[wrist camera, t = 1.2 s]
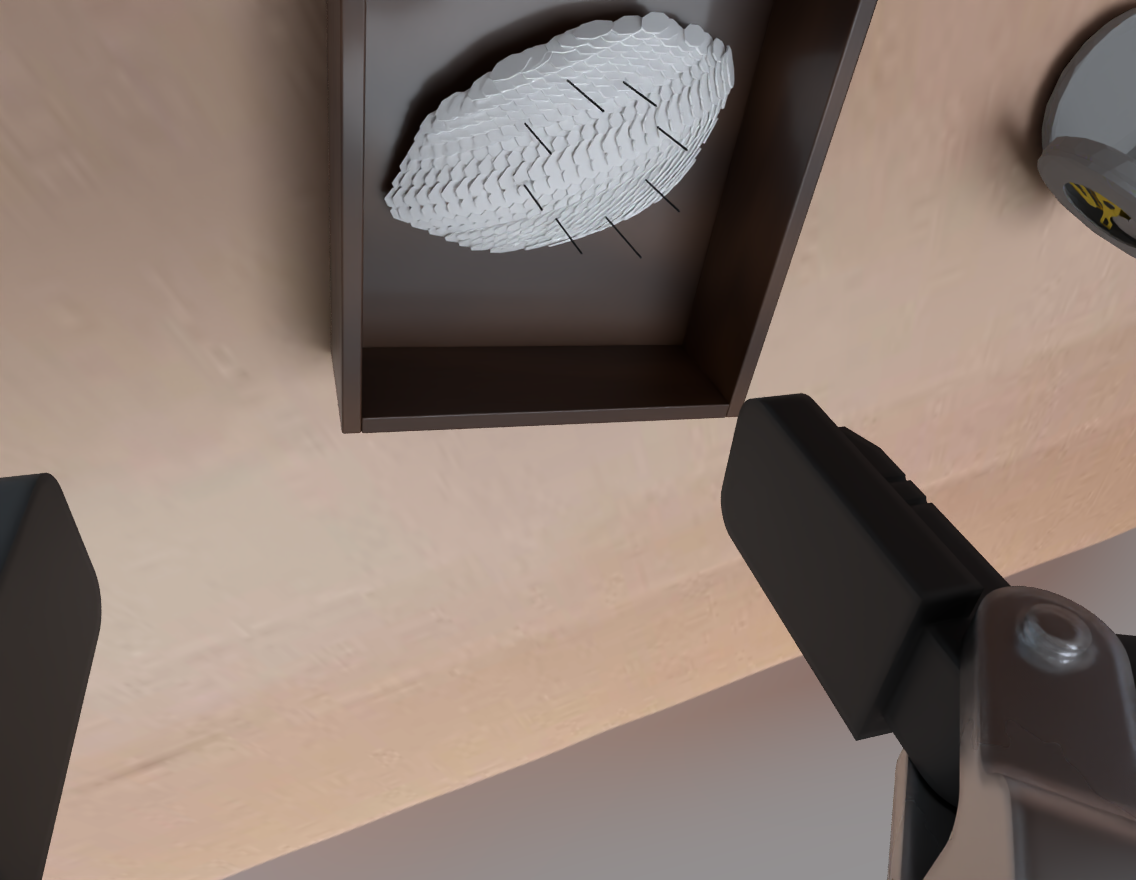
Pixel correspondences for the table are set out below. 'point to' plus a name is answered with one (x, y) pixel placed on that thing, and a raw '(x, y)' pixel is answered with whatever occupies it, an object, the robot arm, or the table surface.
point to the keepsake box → (560, 273)
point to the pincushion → (566, 136)
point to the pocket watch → (1096, 134)
